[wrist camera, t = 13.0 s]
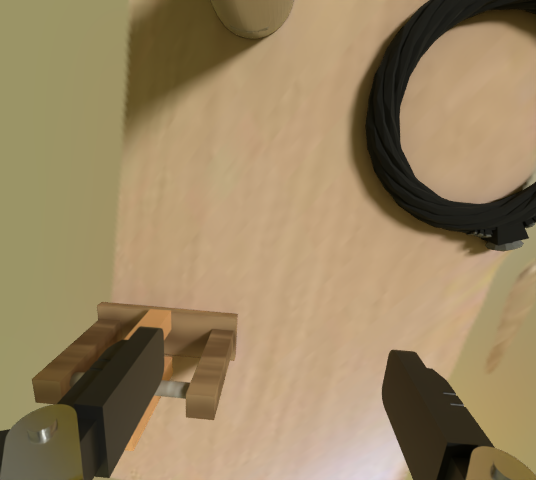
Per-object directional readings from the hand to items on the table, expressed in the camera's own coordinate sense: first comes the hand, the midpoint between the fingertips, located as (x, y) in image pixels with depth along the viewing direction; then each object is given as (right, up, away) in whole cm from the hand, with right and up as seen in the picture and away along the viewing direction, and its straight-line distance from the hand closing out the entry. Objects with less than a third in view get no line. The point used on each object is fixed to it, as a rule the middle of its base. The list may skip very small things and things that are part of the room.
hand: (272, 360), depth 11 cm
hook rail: (-15, -9, +35) cm, 39 cm away
